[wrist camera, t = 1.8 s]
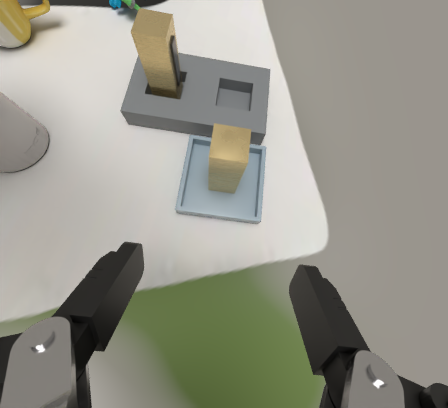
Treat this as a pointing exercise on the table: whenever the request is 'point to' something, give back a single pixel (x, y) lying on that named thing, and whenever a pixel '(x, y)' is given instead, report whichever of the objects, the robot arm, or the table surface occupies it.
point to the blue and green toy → (129, 0)
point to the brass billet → (228, 157)
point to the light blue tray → (214, 200)
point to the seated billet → (158, 52)
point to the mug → (17, 22)
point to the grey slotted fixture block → (202, 98)
